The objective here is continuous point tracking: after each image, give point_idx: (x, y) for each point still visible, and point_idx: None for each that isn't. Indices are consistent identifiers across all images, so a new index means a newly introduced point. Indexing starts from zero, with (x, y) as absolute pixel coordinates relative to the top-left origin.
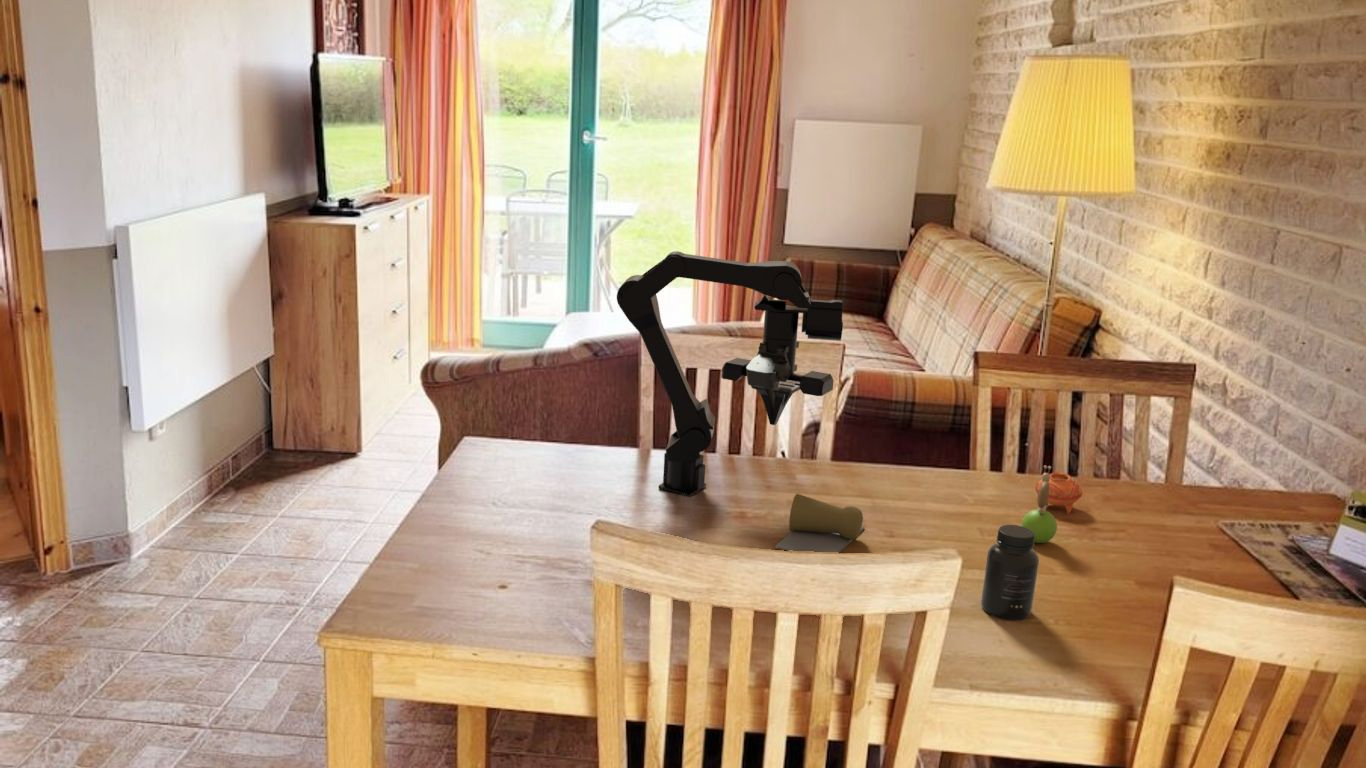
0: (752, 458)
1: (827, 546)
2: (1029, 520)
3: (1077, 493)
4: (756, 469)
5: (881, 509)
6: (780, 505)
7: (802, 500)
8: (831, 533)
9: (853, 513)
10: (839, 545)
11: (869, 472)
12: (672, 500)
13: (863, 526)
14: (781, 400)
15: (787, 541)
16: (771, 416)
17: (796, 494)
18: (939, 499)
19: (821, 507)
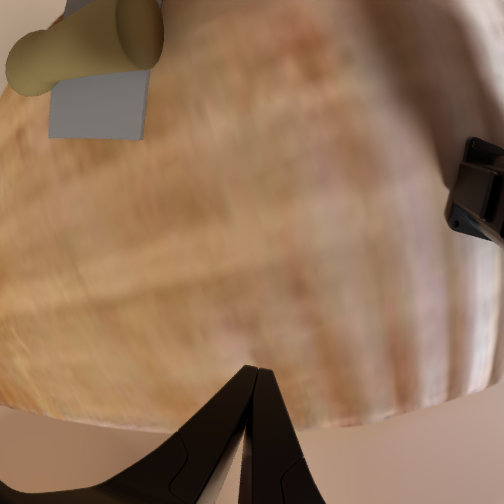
0: (360, 415)
1: (85, 1)
2: None
3: None
4: (346, 373)
5: (60, 252)
6: (234, 172)
7: (98, 5)
8: None
9: (13, 47)
10: None
11: (147, 407)
12: (491, 100)
13: (49, 136)
14: (124, 480)
15: None
16: (255, 399)
17: (113, 16)
18: (33, 326)
19: (63, 23)
